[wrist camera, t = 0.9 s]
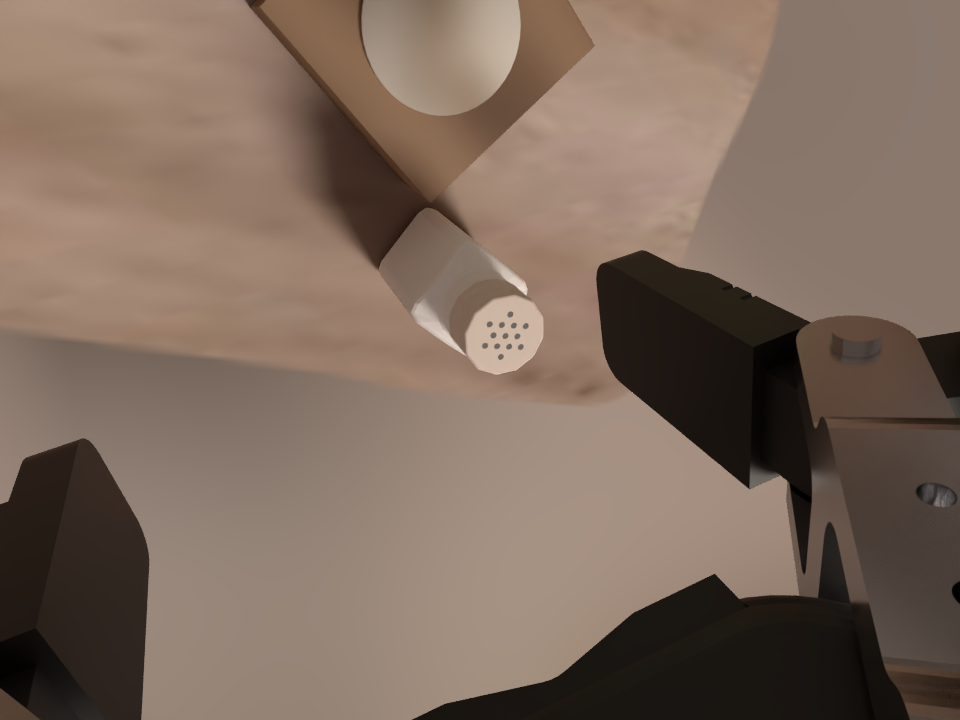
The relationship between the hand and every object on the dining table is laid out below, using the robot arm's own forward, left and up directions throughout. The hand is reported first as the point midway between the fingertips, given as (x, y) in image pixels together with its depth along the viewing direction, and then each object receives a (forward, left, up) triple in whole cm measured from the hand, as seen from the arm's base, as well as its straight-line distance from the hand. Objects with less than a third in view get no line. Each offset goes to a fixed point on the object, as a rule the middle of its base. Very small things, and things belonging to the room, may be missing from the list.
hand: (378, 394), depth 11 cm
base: (-8, +1, -21) cm, 23 cm away
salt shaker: (-2, +9, -21) cm, 23 cm away
